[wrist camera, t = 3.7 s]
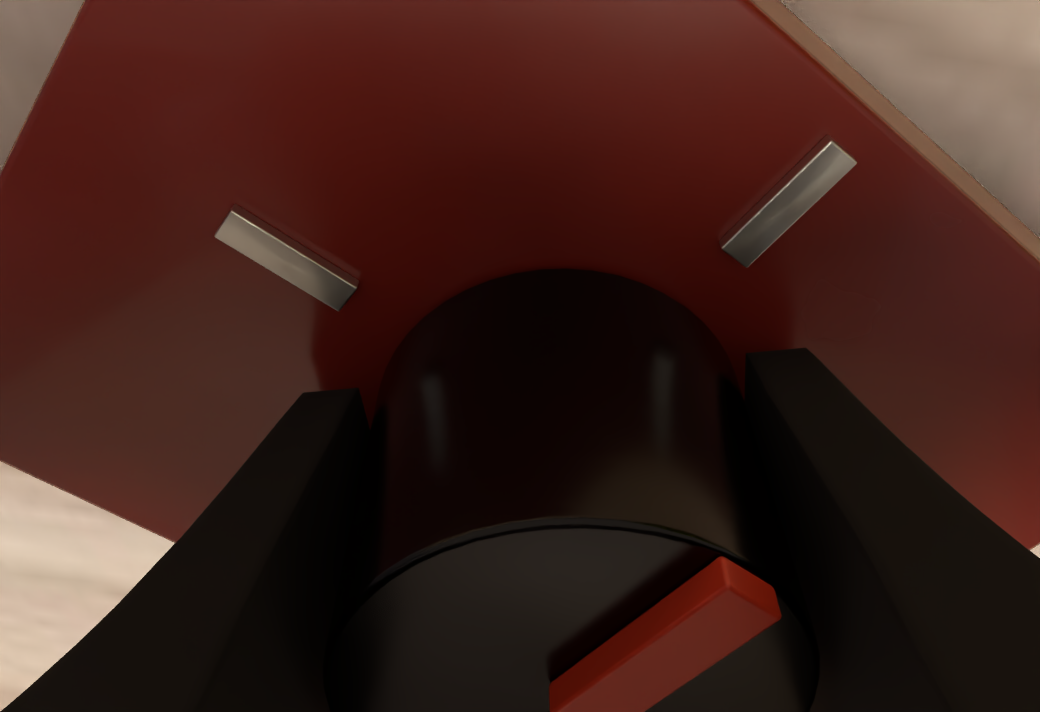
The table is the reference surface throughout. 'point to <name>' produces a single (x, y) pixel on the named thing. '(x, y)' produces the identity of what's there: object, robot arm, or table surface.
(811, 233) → the dial panel
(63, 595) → the table surface
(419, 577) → the dial
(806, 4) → the table surface
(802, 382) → the robot arm
